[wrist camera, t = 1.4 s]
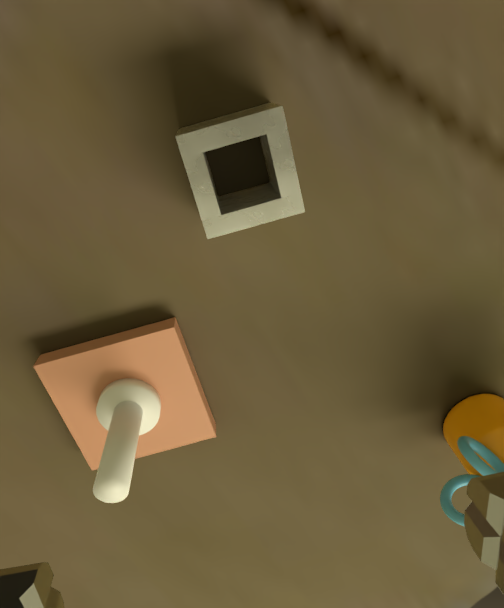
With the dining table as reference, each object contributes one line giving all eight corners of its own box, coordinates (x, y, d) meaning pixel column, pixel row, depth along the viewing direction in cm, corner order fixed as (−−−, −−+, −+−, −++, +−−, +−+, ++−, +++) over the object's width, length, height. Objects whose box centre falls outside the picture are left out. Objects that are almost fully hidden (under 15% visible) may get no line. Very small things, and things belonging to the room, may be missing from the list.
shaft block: (175, 317, 33) (165, 399, 24) (215, 423, 37) (219, 525, 29) (40, 354, 33) (-17, 449, 25) (95, 456, 37) (64, 566, 29)
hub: (270, 102, 28) (282, 105, 23) (290, 194, 30) (304, 211, 26) (179, 128, 28) (175, 136, 23) (206, 217, 30) (207, 239, 26)
